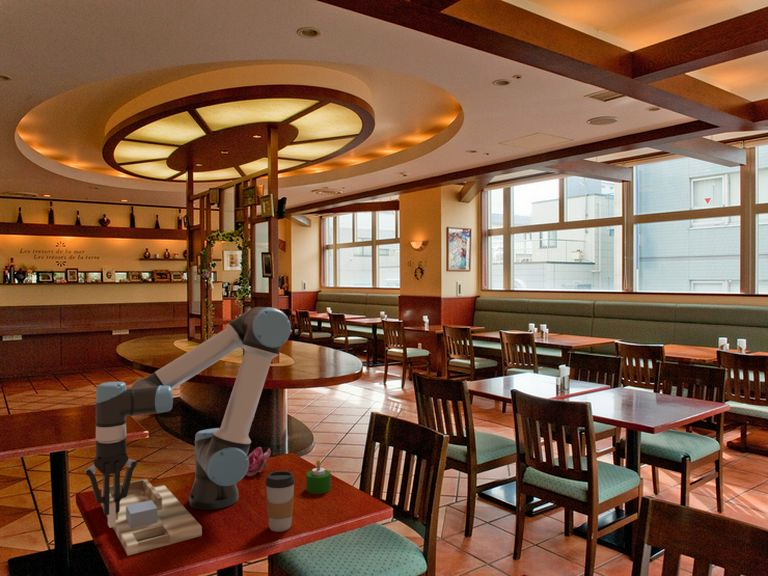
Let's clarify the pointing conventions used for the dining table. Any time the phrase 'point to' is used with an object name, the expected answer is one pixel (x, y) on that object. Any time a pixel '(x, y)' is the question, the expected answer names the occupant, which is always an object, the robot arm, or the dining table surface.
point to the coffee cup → (280, 499)
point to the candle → (318, 480)
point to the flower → (257, 461)
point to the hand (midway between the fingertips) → (111, 525)
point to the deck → (166, 531)
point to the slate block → (141, 514)
